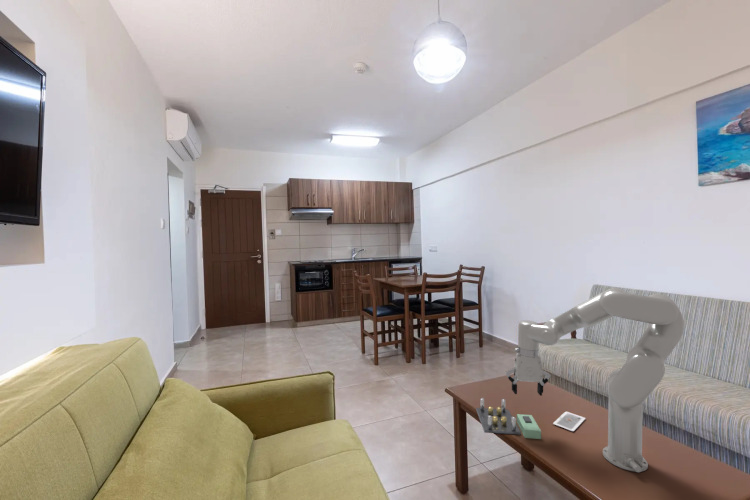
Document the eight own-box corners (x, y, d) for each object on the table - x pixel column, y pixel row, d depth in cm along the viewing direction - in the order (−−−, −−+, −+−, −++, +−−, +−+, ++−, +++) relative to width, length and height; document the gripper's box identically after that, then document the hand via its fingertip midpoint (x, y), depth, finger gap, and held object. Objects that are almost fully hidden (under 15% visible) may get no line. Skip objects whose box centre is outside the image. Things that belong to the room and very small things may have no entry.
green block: (541, 439, 129) (541, 429, 129) (524, 438, 130) (524, 428, 130) (531, 423, 141) (531, 413, 140) (516, 422, 142) (516, 412, 141)
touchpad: (585, 420, 143) (585, 415, 143) (573, 434, 133) (573, 428, 133) (565, 413, 148) (565, 408, 148) (552, 426, 139) (552, 420, 138)
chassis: (520, 434, 132) (521, 419, 131) (484, 432, 133) (484, 417, 133) (508, 411, 149) (508, 398, 149) (476, 410, 151) (476, 397, 151)
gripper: (508, 353, 132) (507, 396, 132) (554, 356, 130) (553, 399, 130) (503, 347, 139) (502, 388, 140) (546, 349, 137) (545, 390, 138)
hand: (527, 393), depth 135 cm, fingers open, 9 cm apart
